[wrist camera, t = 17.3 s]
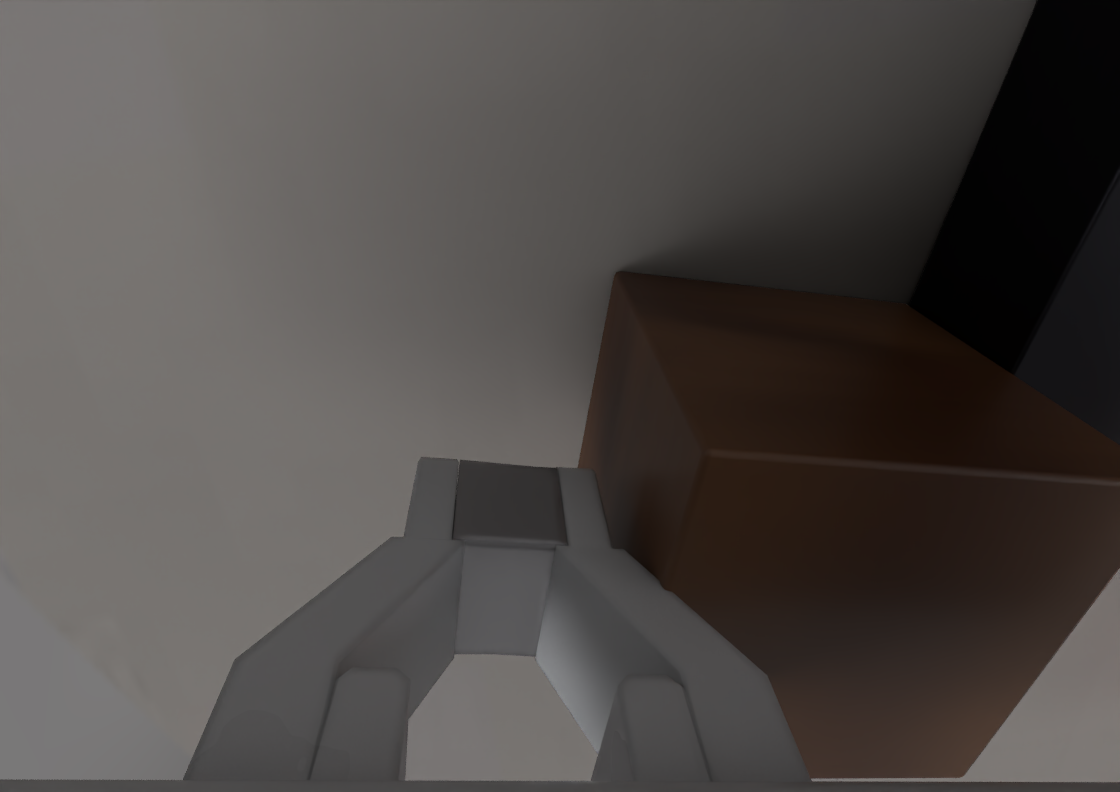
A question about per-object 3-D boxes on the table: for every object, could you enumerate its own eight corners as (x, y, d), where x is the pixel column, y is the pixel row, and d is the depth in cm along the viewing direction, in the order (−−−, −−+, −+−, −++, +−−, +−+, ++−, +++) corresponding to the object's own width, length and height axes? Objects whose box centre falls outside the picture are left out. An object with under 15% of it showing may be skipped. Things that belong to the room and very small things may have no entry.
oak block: (567, 519, 12) (605, 782, 8) (614, 269, 10) (705, 450, 6) (808, 532, 13) (964, 780, 9) (907, 302, 11) (1187, 485, 6)
